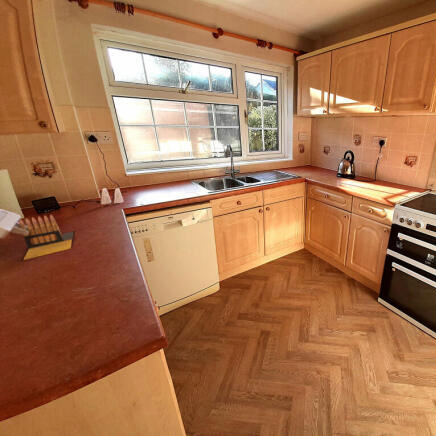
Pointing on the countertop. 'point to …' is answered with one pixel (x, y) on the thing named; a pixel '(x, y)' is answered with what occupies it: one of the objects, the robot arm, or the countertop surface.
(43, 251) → the sorting board
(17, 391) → the countertop surface
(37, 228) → the ammunition clip
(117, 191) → the shaker set
